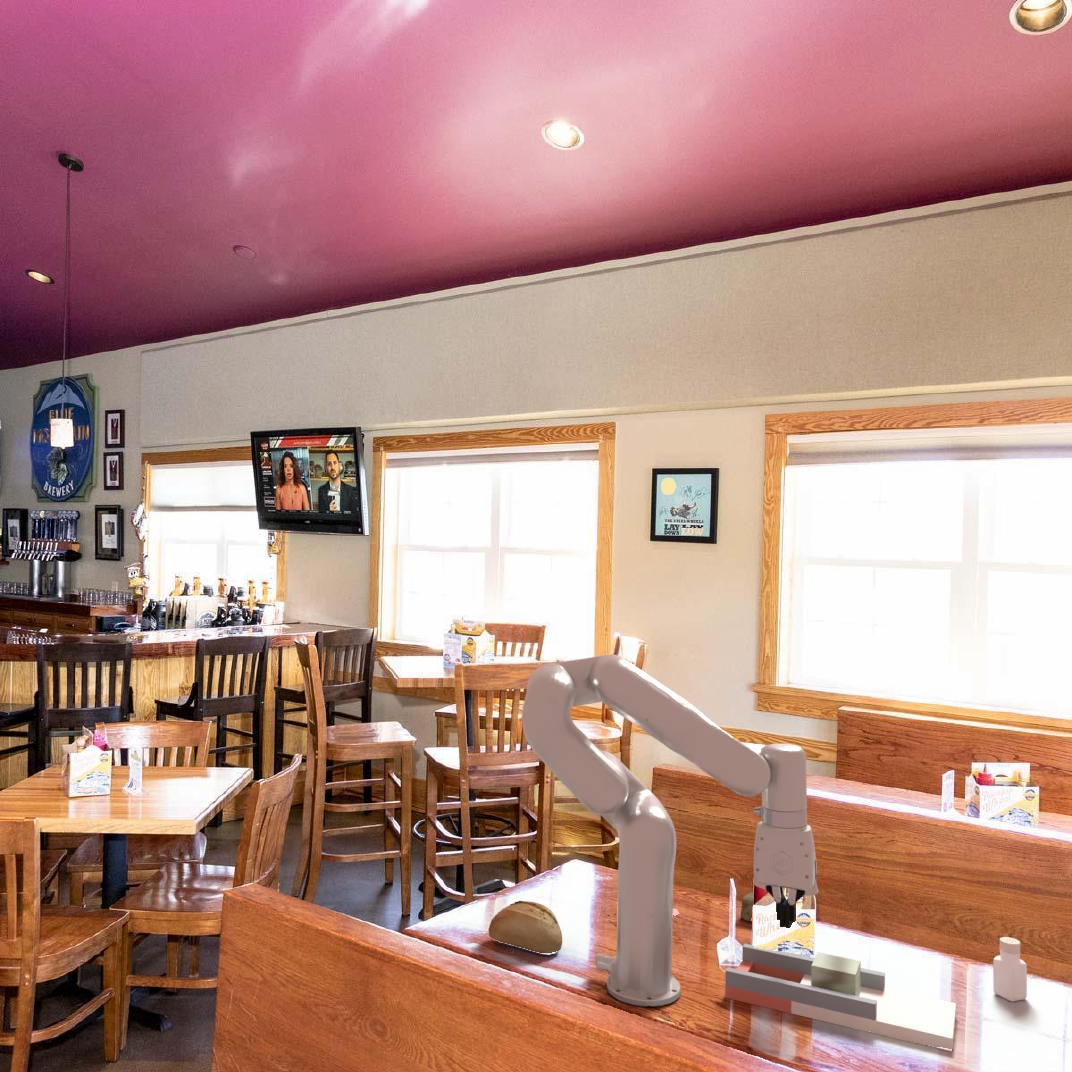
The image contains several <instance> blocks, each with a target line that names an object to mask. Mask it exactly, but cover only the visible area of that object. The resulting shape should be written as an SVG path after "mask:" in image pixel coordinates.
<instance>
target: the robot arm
mask: <svg viewBox="0 0 1072 1072" xmlns="http://www.w3.org/2000/svg"><path fill="white" fill-rule="evenodd" d="M526 687H527V688H526V692H525V696H524V700H523V705H522V710H521V711H522V712H521V726H522V730H523V734H524V737H525V739H526V742H527V744H528V745H529V747H530V749H531V750H532V751H533V753H534V755H536V756H537V757H538V759H540V760H541V762H543V763H544V765H546V767H547V768H548V769H549V770H550V771H551V772H552V773H553V774H554V776H555V777H556V778H557V779H558V780H559V781H560V782H561V783H562V784H563V785H564V786H565V787H566V788H567V789H568V790H569V791H570V793H572V795H573V796H575V797H576V799H577V800H578V801H579V803H580V804H582V806H583V807H584V808H585V809H586V810H588V811H589V812H591V813H593V814H597V815H599V816H601V817H602V818H603V819H604V820H605V821H606V822H608V824H609V825H610V826H612V827H613V829H614V830H615V831H616V832H617V836H618V842H619V843H618V845H619V847H618V848H619V849H618V853H619V854H618V868H617V891H616V894H617V895H616V897H617V901H616V903H617V915H616V916H617V926H616V952H615V953H616V955H615V954H614V955H613V956H611V955H608V954H604V953H599V952H598V953H596V955H595V958H594V959H595V960H594V963H595V966H596V968H595V969H596V970H597V971H599V972H606V973H608V974H609V976H608V977H607V979H606V990H607V989H608V990H607V992H608V991H609V992H608V993H609V994H610V995H611V996H612V997H613V998H615V1000H618V1001H620V1002H623V1003H625V1004H629V1005H633V1006H638V1007H647V1006H651V1007H661V1006H665V1005H670V1004H672V1003H674V1002H675V1001H676V1000H678V999H679V997H680V995H681V993H682V992H681V987H682V986H681V984H680V982H679V980H677V978H675V977H674V976H673V974H672V972H673V967H672V966H673V926H674V925H673V923H674V922H673V921H674V920H673V908H674V875H675V874H674V871H675V864H676V863H675V862H676V861H675V860H676V854H677V833H676V829H675V825H674V823H673V820H672V818H671V815H670V814H669V812H668V811H667V809H665V807H664V805H663V804H662V803H661V801H660V799H659V798H658V797H656V795H655V794H654V793H653V792H652V791H651V790H650V789H649V788H648V787H647V786H646V785H645V784H644V783H643V782H642V781H641V780H640V779H639V778H638V777H637V776H636V775H635V774H634V773H633V772H632V771H630V769H629V768H628V767H627V766H626V765H625V764H624V763H623V762H622V761H621V760H620V758H619V759H618V757H617V756H615V755H614V754H612V753H611V752H608V751H606V750H600V749H599V748H598V747H597V746H596V745H595V744H594V743H593V742H592V741H591V740H590V739H589V738H588V736H587V735H586V734H585V733H584V732H583V731H582V730H581V729H580V728H578V727H577V725H576V724H575V723H574V721H573V718H572V715H571V714H572V708H573V707H578V706H585V705H590V704H596V703H603V704H604V705H605V706H606V707H608V708H610V709H611V710H613V712H615V713H617V714H618V715H620V716H621V717H623V718H625V719H626V720H628V721H629V722H631V723H632V724H634V725H635V726H636V727H638V728H640V729H641V730H642V731H644V732H645V733H646V734H648V735H649V736H650V737H652V738H654V739H655V740H657V741H658V742H659V743H661V744H663V745H664V746H665V747H666V748H668V749H669V750H671V751H672V752H674V753H676V754H677V755H679V756H681V757H682V758H684V759H686V760H688V762H691V763H692V764H693V765H694V766H696V767H697V768H699V769H700V770H701V771H702V772H705V773H706V774H707V775H708V776H710V777H711V778H713V779H715V780H716V781H717V782H719V783H721V784H722V785H723V786H724V787H726V788H728V789H729V790H731V791H732V792H733V793H735V794H737V795H739V796H742V797H756V796H758V795H760V794H761V806H758V807H756V806H755V807H753V815H754V816H758V817H760V820H761V821H760V822H758V823H757V824H756V825H757V826H756V832H755V836H754V837H755V838H754V848H753V849H754V851H753V866H752V867H753V869H752V870H753V879H754V880H753V884H754V886H756V887H758V888H760V889H763V890H765V891H767V893H768V894H769V896H772V897H773V898H774V901H775V902H776V912H777V920H780V927H786V928H790V927H791V925H792V923H793V922H795V921H796V903H798V901H799V900H801V899H802V897H805V896H807V897H810V896H816V895H817V894H818V893H819V888H818V884H817V878H818V876H817V875H818V872H817V871H818V869H817V867H818V865H817V857H816V848H815V839H814V835H813V830H812V826H811V825H809V824H808V800H807V799H808V797H807V790H808V789H807V757H806V752H805V750H804V749H803V748H802V747H801V746H799V745H796V744H792V743H791V744H790V743H771V744H758V743H750V742H744V741H739V740H738V739H736V738H735V737H733V736H732V735H731V734H729V733H727V732H726V731H725V730H723V729H722V728H721V727H720V726H718V725H717V724H715V723H714V722H712V720H710V719H709V718H708V717H706V716H705V714H703V712H701V711H700V710H698V708H696V707H695V706H694V705H693V704H692V703H690V702H689V701H687V700H686V699H685V698H683V697H682V696H680V695H678V694H677V693H675V691H673V690H671V689H670V688H668V687H666V686H665V685H664V684H662V683H661V682H659V681H658V680H657V679H656V678H654V677H652V676H651V675H649V674H647V673H646V672H645V671H643V670H642V669H640V668H639V667H637V666H636V665H634V664H633V663H631V662H630V661H628V660H627V659H626V658H624V657H623V656H621V655H618V654H604V655H599V656H592V657H586V658H580V659H572V660H566V661H559V662H558V661H557V662H551V663H546V664H543V665H541V666H539V667H537V668H536V669H535V670H534V671H533V672H532V673H531V675H530V676H529V678H528V681H527V685H526ZM784 889H788V890H789V891H788V896H787V898H786V895H785V891H784Z"/></svg>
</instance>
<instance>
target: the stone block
mask: <svg viewBox="0 0 1072 1072" xmlns="http://www.w3.org/2000/svg"><path fill="white" fill-rule="evenodd" d="M754 893H755V892H749V893H747V894H746V895H744V896H743V898H742V899H741V905H740V907H741V909H740V919H742V920H744V921H746V920H747V921H746V922H748V921H750V922H749V923H752V922H751V918H752V906H753V903H754Z"/></svg>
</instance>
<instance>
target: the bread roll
mask: <svg viewBox="0 0 1072 1072" xmlns="http://www.w3.org/2000/svg"><path fill="white" fill-rule="evenodd" d="M488 936H489V938H490V937H491V938H493V939H495V940H498V941H500V942H503V943H507V944H511V945H514V946H517V947H521V948H525V949H528V950H531V951H535V952H539V953H552V952H556V951H559V950H560V951H561V949H562V947H563V946H562V945H563V933H562V929H561V927H560V924H559V921H558V919H557V917H556V915H555V914H554V912H553V911H552V910H551V909H549V908H548V907H547V906H545V905H544V904H541V903H538V902H534V901H529V900H527V901H526V900H525V901H524V900H518V901H515V902H514V903H510V904H509V905H507V906H505V907H504V908H502V909H501V910H500V911H499V912H497V913H496V914H495V915H494V916H493V918H492V919H491V921H490V924H489V928H488ZM491 938H490V939H491ZM560 951H559V952H560Z"/></svg>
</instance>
